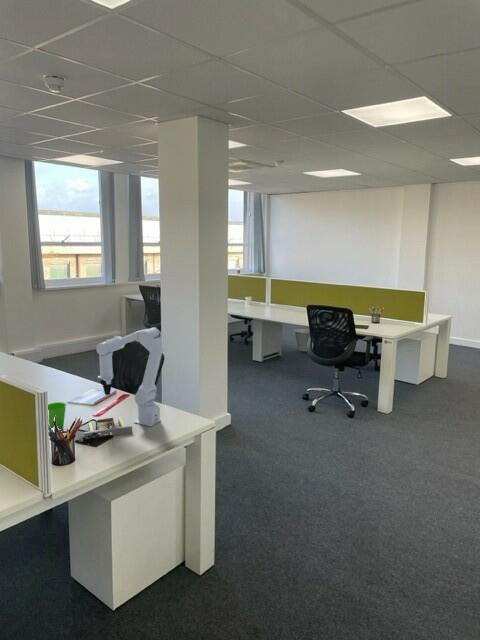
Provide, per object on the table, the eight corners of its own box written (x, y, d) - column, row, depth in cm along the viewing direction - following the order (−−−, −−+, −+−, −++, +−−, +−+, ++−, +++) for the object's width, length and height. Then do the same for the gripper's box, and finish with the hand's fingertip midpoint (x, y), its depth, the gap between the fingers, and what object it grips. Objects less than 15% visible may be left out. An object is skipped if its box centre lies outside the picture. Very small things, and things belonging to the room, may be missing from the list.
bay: (81, 428, 211) (81, 421, 211) (127, 421, 219) (126, 415, 219) (84, 440, 199) (84, 433, 199) (132, 432, 207) (132, 426, 206)
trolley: (97, 427, 213) (96, 419, 212) (113, 424, 215) (112, 417, 215) (99, 435, 203) (99, 428, 203) (116, 433, 206) (116, 425, 205)
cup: (60, 434, 205) (59, 410, 203) (41, 432, 207) (40, 408, 205) (71, 426, 214) (70, 402, 212) (53, 424, 215) (52, 401, 213)
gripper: (95, 363, 227) (97, 390, 230) (99, 371, 214) (100, 400, 217) (110, 362, 230) (111, 389, 232) (115, 370, 217) (116, 398, 219)
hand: (107, 394), depth 225 cm, fingers closed
